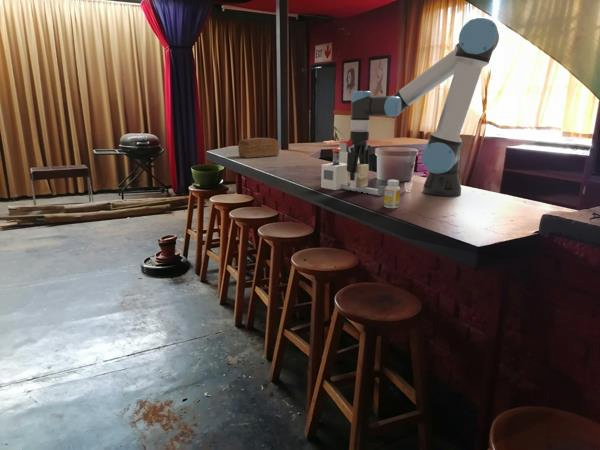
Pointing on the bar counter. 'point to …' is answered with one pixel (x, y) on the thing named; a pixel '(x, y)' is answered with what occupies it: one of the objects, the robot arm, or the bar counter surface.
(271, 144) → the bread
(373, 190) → the rail
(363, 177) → the carriage
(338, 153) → the gauge button
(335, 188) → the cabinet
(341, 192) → the bar counter surface
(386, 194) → the supplement bottle
